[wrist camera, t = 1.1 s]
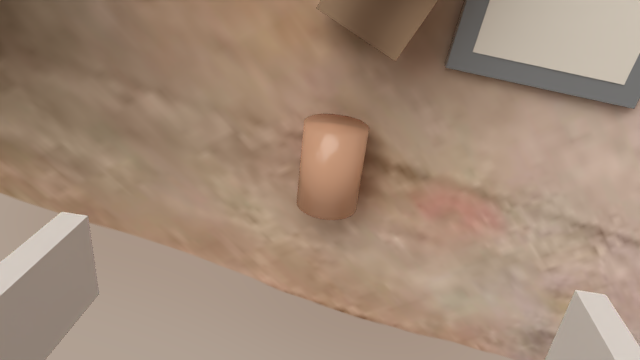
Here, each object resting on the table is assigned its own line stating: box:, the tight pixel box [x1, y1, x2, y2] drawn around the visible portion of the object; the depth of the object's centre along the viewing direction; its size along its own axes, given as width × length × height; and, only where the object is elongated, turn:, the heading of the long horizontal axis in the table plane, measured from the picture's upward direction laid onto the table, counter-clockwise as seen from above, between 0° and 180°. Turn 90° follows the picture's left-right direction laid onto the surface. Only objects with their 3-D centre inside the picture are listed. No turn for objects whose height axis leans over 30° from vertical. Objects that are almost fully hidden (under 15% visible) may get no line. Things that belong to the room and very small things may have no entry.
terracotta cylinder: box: [297, 114, 369, 220], centre depth 38 cm, size 5×5×7 cm
